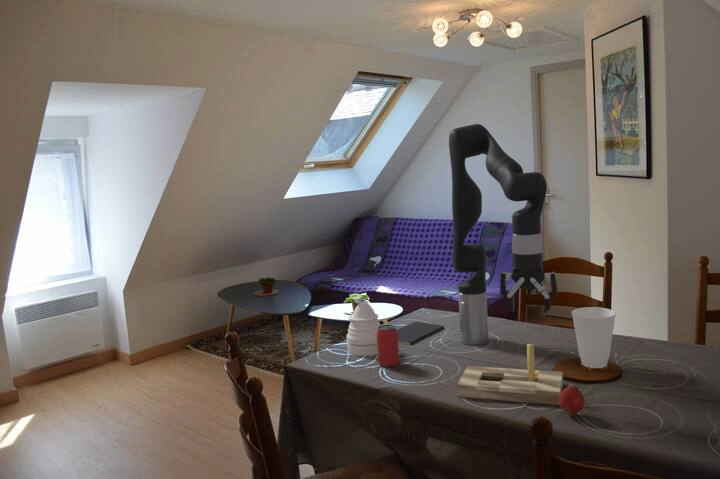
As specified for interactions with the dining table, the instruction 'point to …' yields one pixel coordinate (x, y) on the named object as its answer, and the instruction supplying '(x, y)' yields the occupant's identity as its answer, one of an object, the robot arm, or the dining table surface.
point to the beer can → (387, 346)
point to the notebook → (416, 332)
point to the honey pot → (363, 330)
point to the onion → (571, 400)
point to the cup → (594, 335)
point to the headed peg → (531, 362)
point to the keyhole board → (510, 385)
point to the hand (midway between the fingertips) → (529, 311)
